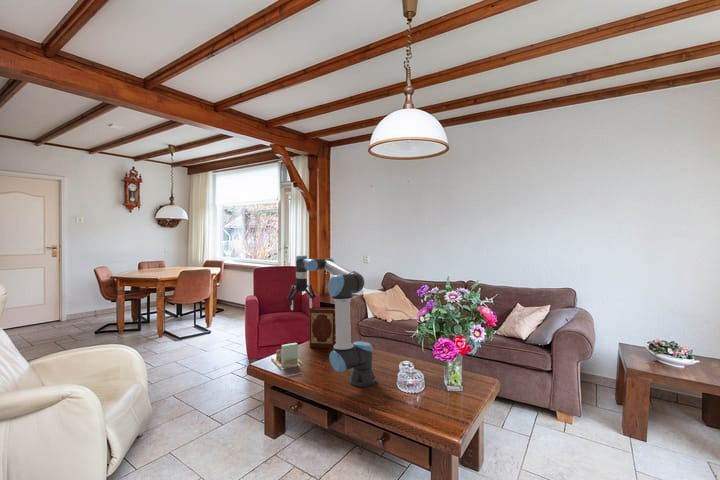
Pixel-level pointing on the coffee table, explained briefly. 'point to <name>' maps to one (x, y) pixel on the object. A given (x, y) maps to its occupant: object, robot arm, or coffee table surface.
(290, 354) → the sage board
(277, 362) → the rack
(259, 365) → the coffee table surface
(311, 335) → the decorative book
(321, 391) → the coffee table surface
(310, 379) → the coffee table surface
